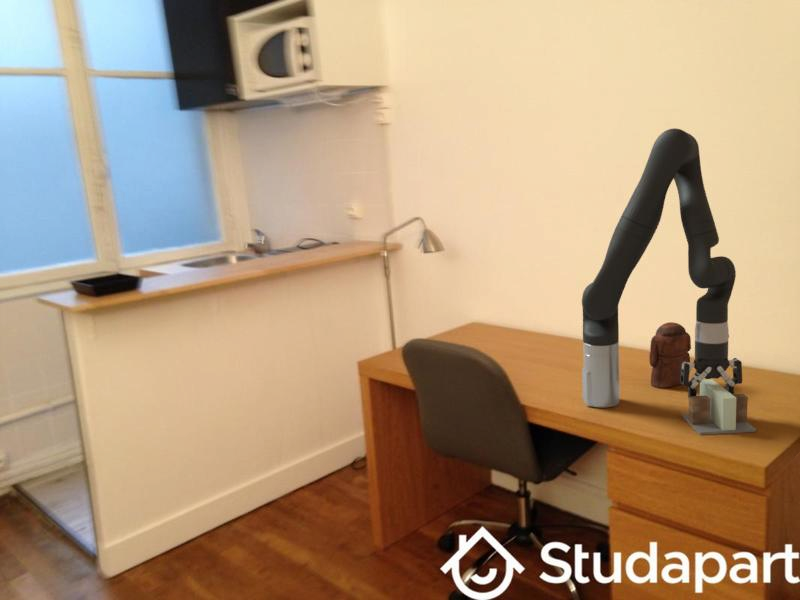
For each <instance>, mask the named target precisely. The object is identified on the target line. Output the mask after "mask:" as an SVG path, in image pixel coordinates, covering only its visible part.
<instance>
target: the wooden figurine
mask: <svg viewBox="0 0 800 600" xmlns="http://www.w3.org/2000/svg"><path fill="white" fill-rule="evenodd" d="M691 339H692V338H691V335H690V334H689V333H688V332H687V331H686V328H685V327H684V326H683V325H681V324H680V323H677V322H673V321H672V322H666V323H663V324H661V325H660V326H659V327H658V328H657V330H656V332H655V334H654V335H653V336H652V338H651V340H650V345H649V346H650V348H649V349H650V350H649V351H650V352H649V365H650V366H651V367H652V368H651V375H650V385H651V386H652V387H656V388H661V389H663V388H670V387H671V388H672V387H675V386H677V385H682V384H681V383H680V375H681V363H682V362H683V361H685V362H691V356H690V353H689V352H690V351H691V349H692V344H691V343H692V342H691V341H692V340H691ZM690 373H691V371H689V374H690Z"/></svg>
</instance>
